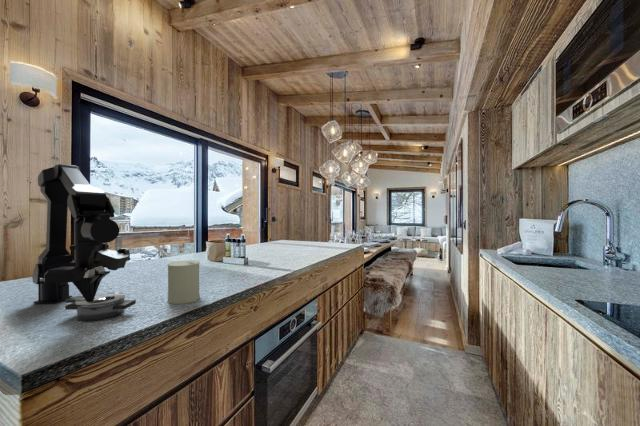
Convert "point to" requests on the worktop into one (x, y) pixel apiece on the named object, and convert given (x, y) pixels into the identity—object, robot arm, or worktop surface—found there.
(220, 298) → the worktop surface
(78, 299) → the lid
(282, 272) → the worktop surface
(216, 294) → the worktop surface
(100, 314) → the pot
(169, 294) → the can
